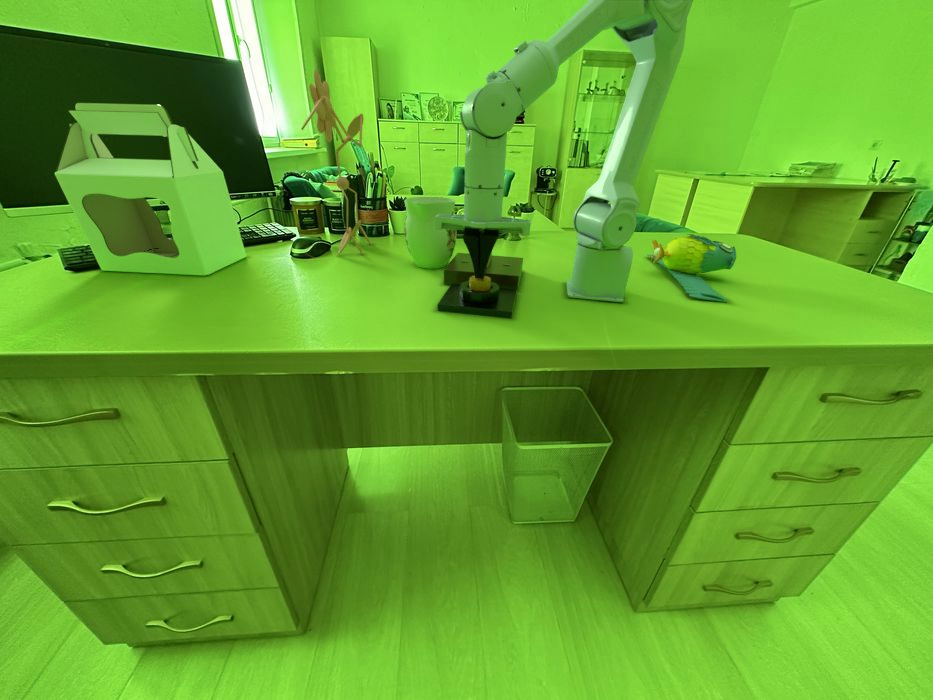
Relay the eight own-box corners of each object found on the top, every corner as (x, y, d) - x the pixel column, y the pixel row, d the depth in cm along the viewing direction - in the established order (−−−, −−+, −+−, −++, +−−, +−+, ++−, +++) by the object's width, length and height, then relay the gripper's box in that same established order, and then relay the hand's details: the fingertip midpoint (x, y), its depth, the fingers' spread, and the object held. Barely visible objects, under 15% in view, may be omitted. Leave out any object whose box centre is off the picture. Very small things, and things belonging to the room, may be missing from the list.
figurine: (381, 237, 101) (366, 80, 84) (358, 265, 79) (331, 60, 62) (325, 235, 101) (299, 79, 84) (286, 263, 79) (239, 57, 61)
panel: (521, 271, 78) (523, 256, 76) (517, 291, 68) (519, 275, 66) (457, 266, 80) (457, 251, 79) (443, 284, 70) (443, 268, 68)
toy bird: (640, 218, 86) (708, 223, 85) (630, 255, 90) (695, 260, 89) (686, 249, 62) (782, 257, 61) (669, 297, 66) (758, 305, 65)
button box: (516, 295, 66) (518, 279, 64) (511, 318, 58) (513, 300, 56) (451, 289, 68) (451, 273, 66) (437, 311, 59) (437, 293, 58)
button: (491, 285, 63) (492, 276, 62) (488, 293, 60) (489, 283, 59) (471, 284, 63) (471, 274, 62) (467, 291, 60) (467, 281, 59)
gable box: (99, 271, 72) (15, 99, 58) (154, 252, 84) (94, 105, 70) (208, 276, 71) (148, 102, 57) (248, 257, 82) (207, 108, 68)
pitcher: (461, 253, 89) (462, 192, 82) (451, 277, 74) (451, 204, 67) (416, 250, 90) (414, 190, 83) (397, 274, 75) (392, 202, 68)
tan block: (483, 258, 75) (484, 237, 73) (491, 259, 75) (492, 238, 72) (479, 266, 70) (480, 244, 68) (487, 267, 70) (488, 245, 68)
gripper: (428, 187, 51) (430, 280, 58) (533, 192, 49) (522, 289, 56) (441, 182, 57) (442, 267, 64) (535, 186, 55) (525, 274, 62)
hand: (480, 276), depth 60 cm, fingers closed
